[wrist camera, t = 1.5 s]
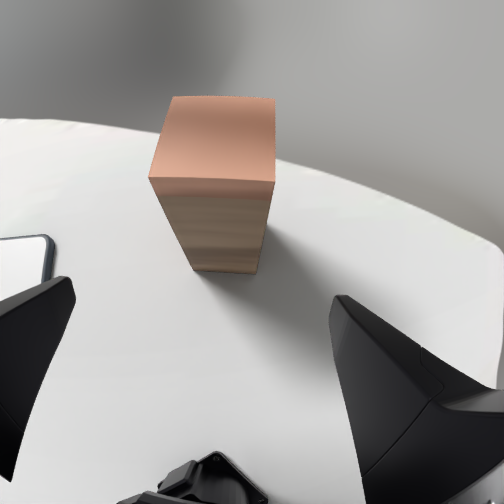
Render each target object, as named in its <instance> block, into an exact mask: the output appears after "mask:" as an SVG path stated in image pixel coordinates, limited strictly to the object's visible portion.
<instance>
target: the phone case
mask: <svg viewBox="0 0 504 504" xmlns="http://www.w3.org/2000/svg"><path fill="white" fill-rule="evenodd" d="M54 249H55V244H54V241H53V239H52V238H50V237H49V236H48V235H46V234H40V235H30V236H19V237H10V238H0V301H1V300H4V299H6V298H8V297H11V296H13V295H15V294H18V293H20V292H22V291H25V290H27V289H29V288H32V287H34V286H36V285H39V284H41V283H44V282H46V281H49V280H50V277H51V269H52V262H53V255H54Z"/></svg>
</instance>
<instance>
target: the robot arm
mask: <svg viewBox="0 0 504 504" xmlns="http://www.w3.org/2000/svg"><path fill="white" fill-rule="evenodd" d="M75 303H76V296H75V292H74V288H73V285H72V281H71V279H70V278H69V277H66V276H58V277H56V278H53V279H51V280H49V281H46V282H44V283H41V284H39V285H36V286H34V287H32V288H29V289H27V290H25V291H22V292H20V293H18V294H15V295H13V296H11V297H8V298H6V299H4V300H1V301H0V476H1V477H3V478H4V479H6V480H7V481H9V482H11V481H12V478H13V473H14V469H15V465H16V461H17V457H18V453H19V449H20V446H21V442H22V439H23V436H24V432H25V429H26V426H27V423H28V420H29V417H30V414H31V411H32V408H33V405H34V403H35V400H36V397H37V395H38V392H39V389H40V387H41V384H42V382H43V379H44V377H45V375H46V372H47V370H48V368H49V365H50V363H51V361H52V358H53V356H54V354H55V352H56V350H57V347H58V345H59V343H60V341H61V339H62V337H63V334H64V331H65V329H66V326H67V323H68V321H69V318H70V316H71V313H72V311H73V308H74V306H75ZM329 327H330V333H331V340H332V347H333V355H334V361H335V365H336V369H337V373H338V377H339V381H340V385H341V389H342V393H343V397H344V401H345V405H346V409H347V413H348V418H349V422H350V426H351V431H352V435H353V440H354V444H355V449H356V453H357V458H358V463H359V468H360V473H361V477H362V484H363V489H364V495H365V500H366V504H504V390H496V389H491V388H489V387H486V386H484V385H482V384H481V383H479V382H477V381H476V380H474V379H472V378H470V377H469V376H467V375H465V374H464V373H462V372H460V371H459V370H457V369H455V368H454V367H452V366H450V365H449V364H447V363H446V362H444V361H442V360H441V359H439V358H438V357H436V356H435V355H433V354H432V353H430V352H429V351H428V350H426V349H425V348H423V347H421V346H420V345H419V344H418V343H416V342H415V341H413V340H412V339H410V338H409V337H408V336H406V335H405V334H403V333H402V332H400V331H399V330H398V329H396V328H395V327H393V326H392V325H390V324H389V323H387V322H386V321H384V320H383V319H382V318H380V317H379V316H377V315H376V314H374V313H373V312H371V311H370V310H368V309H367V308H365V307H364V306H363V305H361V304H360V303H358V302H357V301H355V300H354V299H352V298H351V297H349V296H348V295H336V296H335V297H334V299H333V303H332V307H331V311H330V315H329ZM214 456H219V457H220V458H219V459H215V458H214ZM158 489H159V490H158V491H157V493H154V492H151V491H146V492H143V493H142V494H138V495H135V496H133V497H130V498H128V499H125V500H122V501H120V502H118V503H117V504H267V503H268V498H267V496H265V495H264V494H263V493H262V492H261V491H260V490H259V489H258V488H256V487H255V486H254V485H253V484H252V483H251V482H250V481H249V480H248V479H247V478H246V477H245V476H244V475H243V474H242V473H241V472H240V471H239V470H238V469H237V468H236V467H235V466H234V465H233V464H232V463H231V462H230V461H229V460H228V459H227V458H226V457H225V456H224V455H223V454H222V453H221V452H218V451H215V452H212V453H211V454H209V455H207V456H206V457H204V458H202V459H201V460H199V461H195V460H191V461H189V462H188V463H186V464H184V465H182V466H181V467H179V468H177V469H175V470H173V471H171V472H170V473H169V474H168V475H167V477H166V478H165V480H163V481H161V482H160V483H159V484H158ZM261 499H263V500H264V501H263V502H260V501H259V500H261Z"/></svg>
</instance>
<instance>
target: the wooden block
mask: <svg viewBox="0 0 504 504" xmlns="http://www.w3.org/2000/svg"><path fill="white" fill-rule="evenodd" d="M148 178H149V180H150V183H151V185H152V187H153V189H154V191H155V194H156V196H157V198H158V200H159V202H160V204H161V206H162V208H163V211H164V213H165V215H166V217H167V219H168V221H169V223H170V225H171V227H172V229H173V231H174V233H175V235H176V237H177V239H178V241H179V243H180V245H181V247H182V249H183V251H184V253H185V255H186V257H187V259H188V261H189V263H190V265H191V267H192V269H193V270H197V271H212V272H228V273H245V274H256V271H257V266H258V261H259V257H260V252H261V247H262V242H263V238H264V233H265V228H266V223H267V219H268V214H269V209H270V204H271V200H272V195H273V190H274V185H275V99H269V98H256V97H255V98H254V97H236V96H178V97H173V99H172V101H171V104H170V107H169V110H168V113H167V116H166V119H165V122H164V125H163V128H162V131H161V134H160V137H159V140H158V144H157V147H156V150H155V154H154V157H153V161H152V164H151V168H150V171H149V175H148Z"/></svg>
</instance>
